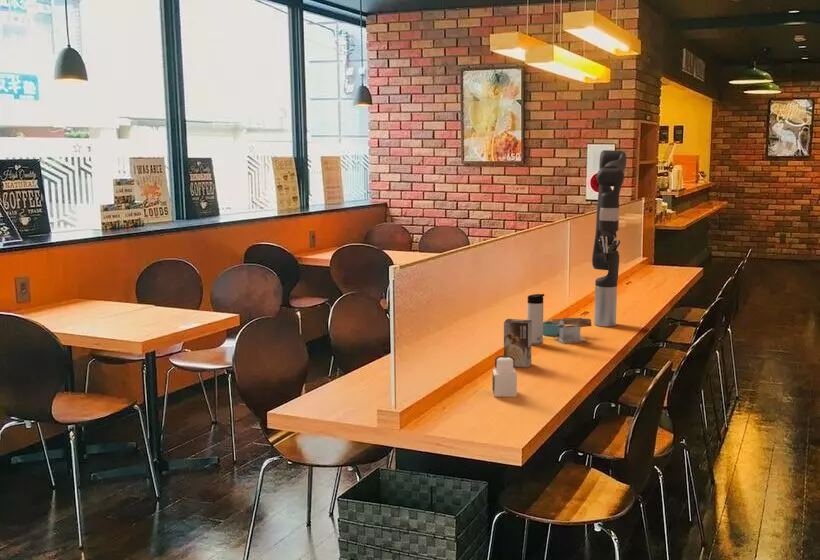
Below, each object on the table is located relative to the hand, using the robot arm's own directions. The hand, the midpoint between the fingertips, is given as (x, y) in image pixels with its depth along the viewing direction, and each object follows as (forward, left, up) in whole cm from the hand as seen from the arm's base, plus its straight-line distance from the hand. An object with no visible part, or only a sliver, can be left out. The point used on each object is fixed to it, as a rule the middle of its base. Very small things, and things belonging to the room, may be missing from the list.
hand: (607, 262), depth 343 cm
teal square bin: (+4, -22, -31) cm, 38 cm away
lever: (+10, -8, -25) cm, 28 cm away
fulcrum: (+12, -10, -31) cm, 35 cm away
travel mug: (+24, -20, -31) cm, 44 cm away
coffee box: (+57, -12, -31) cm, 67 cm away
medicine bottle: (+92, 0, -31) cm, 98 cm away
